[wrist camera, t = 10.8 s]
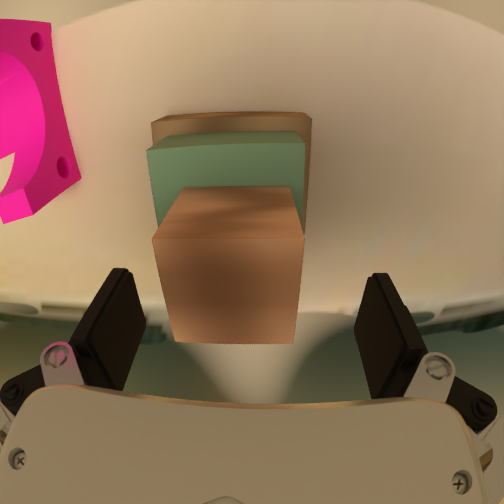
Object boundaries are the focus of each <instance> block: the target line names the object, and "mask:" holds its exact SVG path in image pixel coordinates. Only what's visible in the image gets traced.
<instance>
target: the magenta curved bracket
mask: <svg viewBox="0 0 504 504" xmlns="http://www.w3.org/2000/svg"><path fill="white" fill-rule="evenodd" d="M51 32H52V28H51V23H47V22H39V21H27V20H14V19H0V159H2V158H4V157H6V156H8V155H10V154H12V153H14V152H15V157H14V163H13V167H12V171H11V174H10V177H9V179H8V181H7V183H6V185H5V187H4V189H3V190H2V192H1V193H0V217H1V219H2V222H3V224H6V223H9V222H12V221H15V220H18V219H21V218H25V217H28V216H31V215H34V214H35V213H36V212H37V211H39V210H40V209H41V208H42V207H44V206H45V205H46V204H47V203H49V202H50V201H51V200H53V199H54V198H55V197H56V196H58V195H59V194H60V193H62V192H63V191H64V190H66V189H67V188H69V187H70V186H71V185H73V184H74V183H75V182H77V181H78V180H80V179H81V175H80V172H79V168H78V165H77V161H76V158H75V154H74V151H73V147H72V143H71V139H70V136H69V132H68V128H67V123H66V119H65V115H64V110H63V106H62V101H61V96H60V91H59V85H58V80H57V74H56V68H55V61H54V55H53V47H52V39H51Z"/></svg>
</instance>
